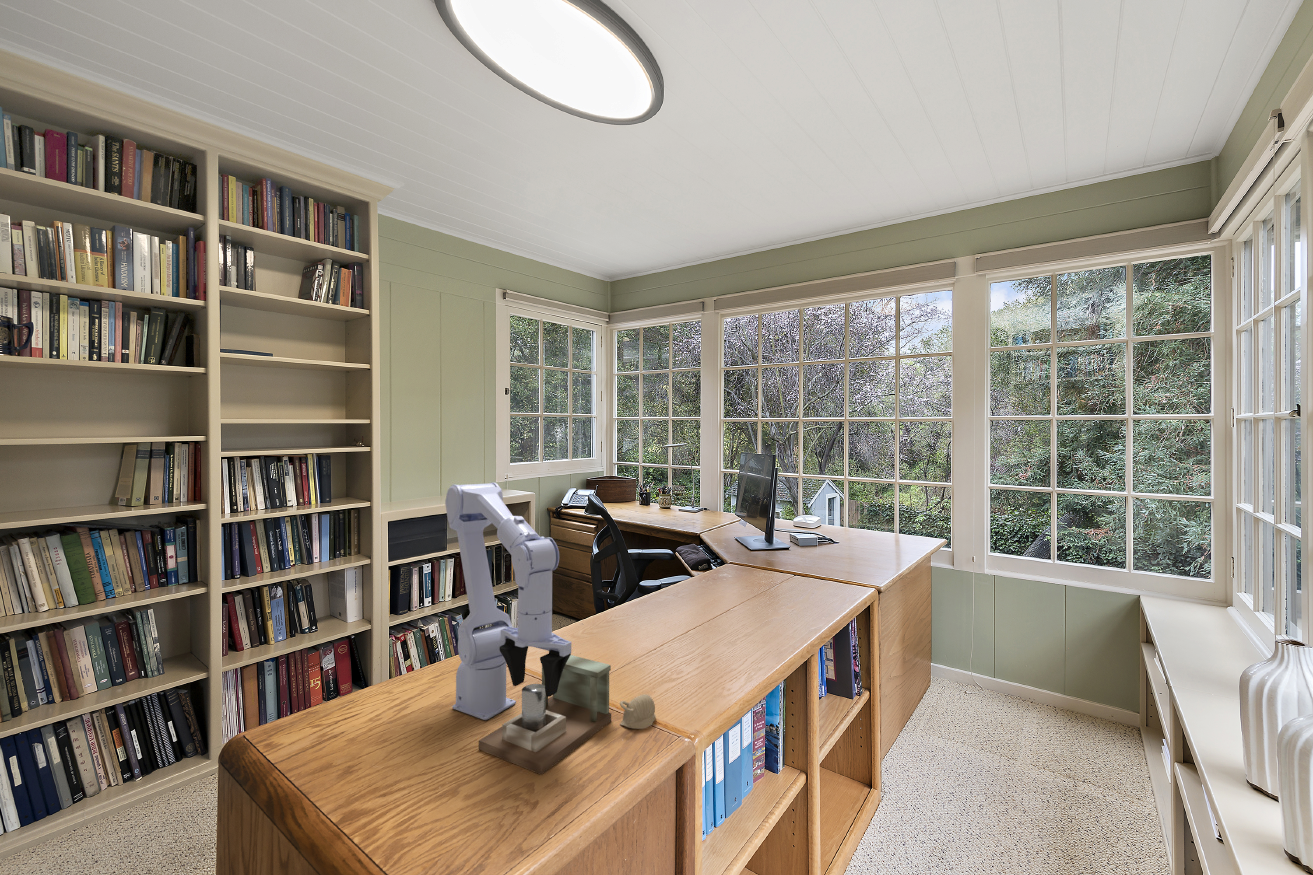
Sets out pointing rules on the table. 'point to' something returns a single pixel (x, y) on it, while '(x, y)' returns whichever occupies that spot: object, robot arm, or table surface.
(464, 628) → the robot arm
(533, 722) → the steel peg
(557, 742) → the socket stand
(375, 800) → the table surface
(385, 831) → the table surface
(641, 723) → the decorative ornament
